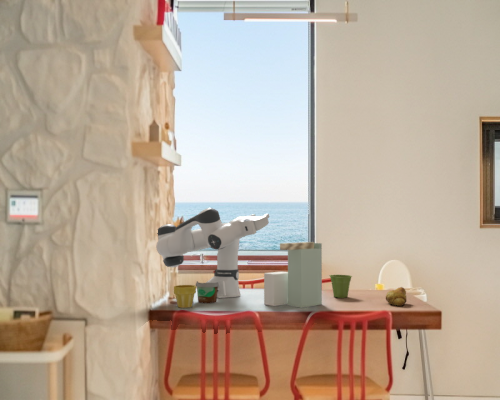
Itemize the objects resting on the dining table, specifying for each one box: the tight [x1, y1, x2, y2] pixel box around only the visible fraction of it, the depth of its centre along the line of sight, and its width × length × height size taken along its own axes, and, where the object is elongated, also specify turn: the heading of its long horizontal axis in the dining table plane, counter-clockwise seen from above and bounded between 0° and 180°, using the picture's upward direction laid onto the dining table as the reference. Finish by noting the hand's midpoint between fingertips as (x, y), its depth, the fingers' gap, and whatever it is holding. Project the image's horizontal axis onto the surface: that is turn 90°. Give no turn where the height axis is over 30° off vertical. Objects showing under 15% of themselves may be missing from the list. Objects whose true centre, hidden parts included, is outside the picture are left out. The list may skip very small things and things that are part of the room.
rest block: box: [263, 271, 288, 307], centre depth 251 cm, size 12×7×15 cm, turn 130°
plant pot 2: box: [329, 274, 353, 299], centre depth 271 cm, size 12×12×11 cm
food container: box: [195, 281, 219, 304], centre depth 254 cm, size 12×6×10 cm, turn 70°
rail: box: [279, 241, 315, 251], centre depth 245 cm, size 20×3×3 cm, turn 130°
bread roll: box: [385, 286, 407, 307], centre depth 249 cm, size 13×10×8 cm
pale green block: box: [287, 242, 323, 309], centre depth 248 cm, size 14×9×30 cm, turn 130°
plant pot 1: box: [173, 284, 197, 309], centre depth 243 cm, size 10×10×10 cm
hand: (261, 215), depth 238 cm, fingers open, 8 cm apart
